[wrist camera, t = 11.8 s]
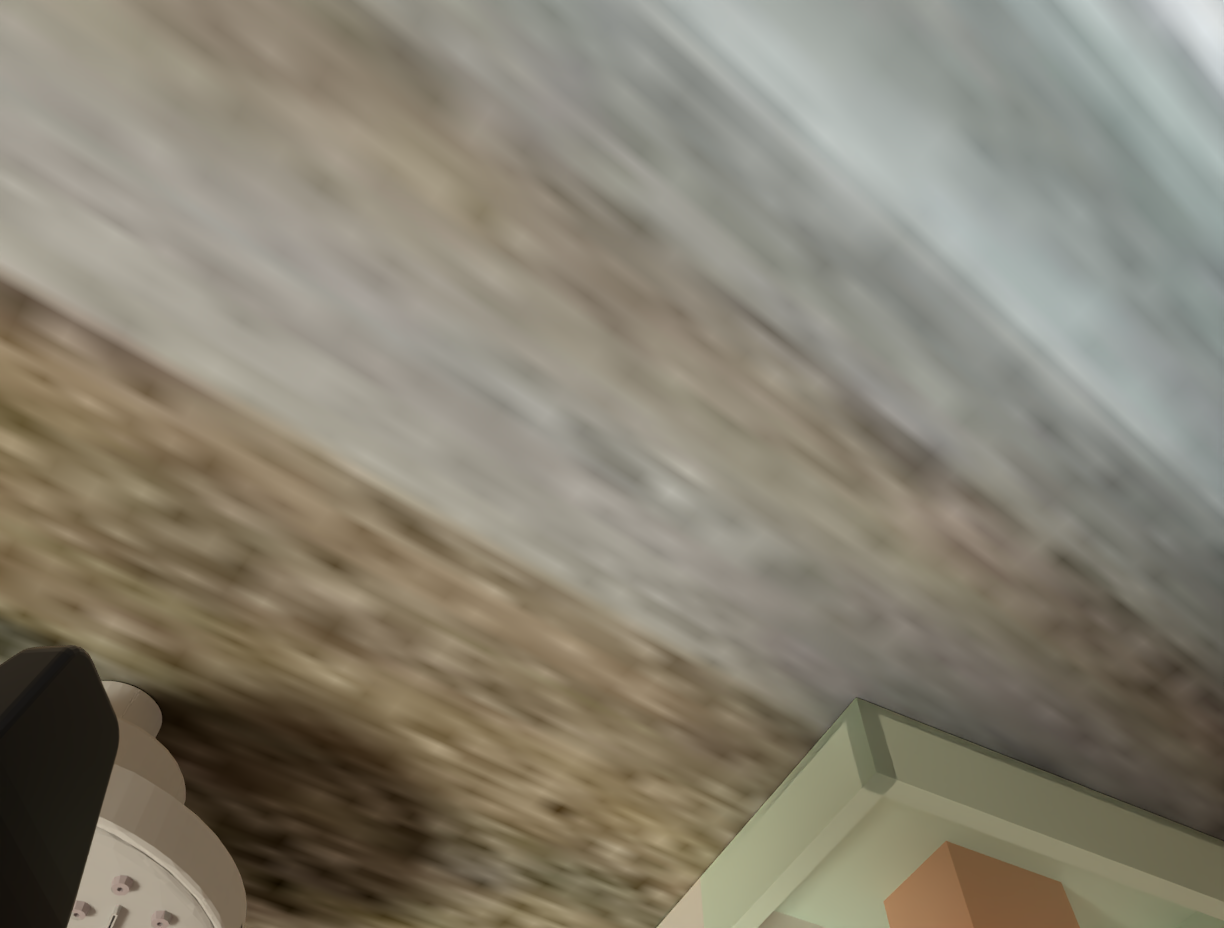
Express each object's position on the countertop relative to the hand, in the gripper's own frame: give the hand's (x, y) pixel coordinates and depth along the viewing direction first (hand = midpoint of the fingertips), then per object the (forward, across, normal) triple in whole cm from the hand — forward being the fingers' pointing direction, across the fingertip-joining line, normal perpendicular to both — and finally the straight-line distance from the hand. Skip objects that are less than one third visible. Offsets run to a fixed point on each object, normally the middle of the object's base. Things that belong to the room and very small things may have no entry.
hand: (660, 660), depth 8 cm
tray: (+13, -9, +21) cm, 26 cm away
